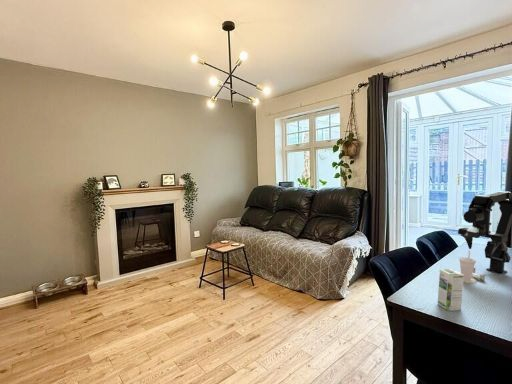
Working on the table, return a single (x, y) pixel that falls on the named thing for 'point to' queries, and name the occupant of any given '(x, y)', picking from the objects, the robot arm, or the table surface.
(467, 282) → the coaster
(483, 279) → the steel rail
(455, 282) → the syrup box
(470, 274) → the smoothie
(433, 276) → the table surface
